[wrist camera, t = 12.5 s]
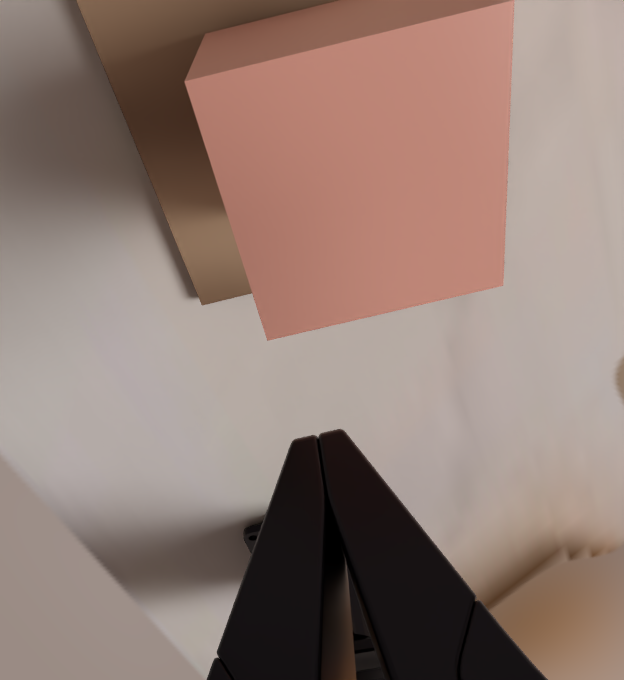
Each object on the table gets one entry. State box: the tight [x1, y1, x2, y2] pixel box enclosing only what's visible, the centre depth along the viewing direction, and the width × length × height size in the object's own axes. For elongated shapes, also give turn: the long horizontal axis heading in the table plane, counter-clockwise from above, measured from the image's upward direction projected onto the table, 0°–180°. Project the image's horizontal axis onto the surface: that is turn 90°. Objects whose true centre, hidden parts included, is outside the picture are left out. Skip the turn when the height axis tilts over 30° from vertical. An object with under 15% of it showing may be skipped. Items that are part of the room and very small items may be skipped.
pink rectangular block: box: [184, 0, 514, 341], centre depth 12 cm, size 5×5×7 cm
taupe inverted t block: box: [76, 0, 338, 305], centre depth 13 cm, size 11×11×7 cm
